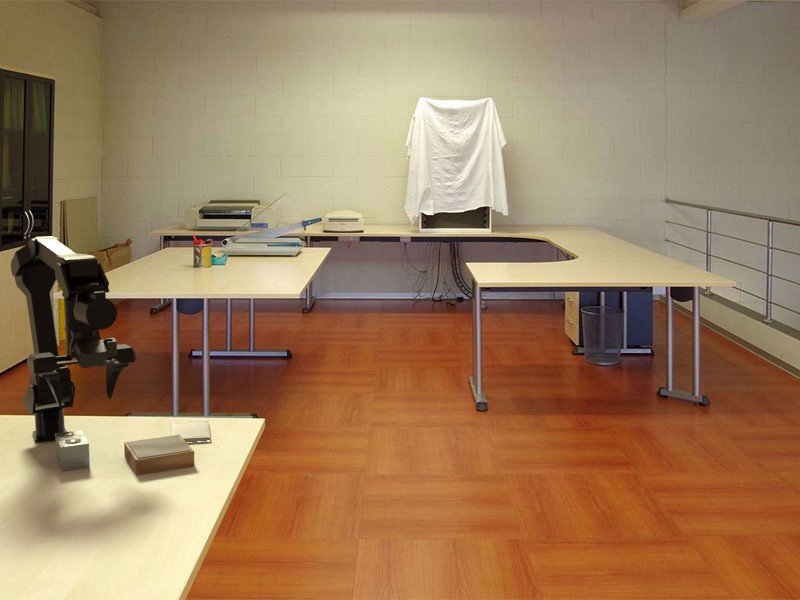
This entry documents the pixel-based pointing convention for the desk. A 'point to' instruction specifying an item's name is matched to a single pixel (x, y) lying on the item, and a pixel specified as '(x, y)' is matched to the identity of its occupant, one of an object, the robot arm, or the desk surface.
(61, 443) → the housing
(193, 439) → the hard drive
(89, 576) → the desk surface
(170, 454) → the stand
